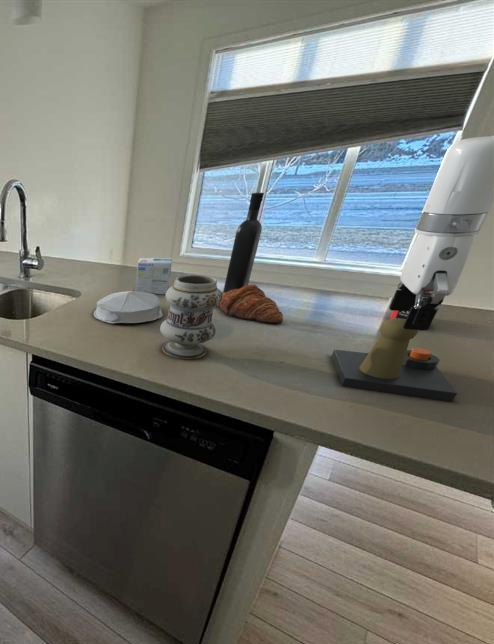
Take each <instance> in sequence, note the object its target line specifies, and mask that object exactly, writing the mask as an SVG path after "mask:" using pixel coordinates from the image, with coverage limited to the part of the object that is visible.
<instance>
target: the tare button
mask: <svg viewBox="0 0 494 644" xmlns="http://www.w3.org/2000/svg"><path fill="white" fill-rule="evenodd" d="M411 350H412V351H411V353H410V355H409V356H410V357H412V358H415V359H419V360H428V359H429V357H430V355H431V354H432V351H431V350H429V349H426V348H420V347H415V348H412V349H411Z"/></svg>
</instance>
